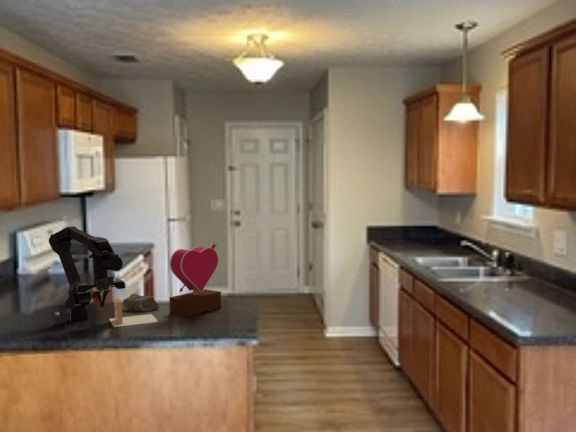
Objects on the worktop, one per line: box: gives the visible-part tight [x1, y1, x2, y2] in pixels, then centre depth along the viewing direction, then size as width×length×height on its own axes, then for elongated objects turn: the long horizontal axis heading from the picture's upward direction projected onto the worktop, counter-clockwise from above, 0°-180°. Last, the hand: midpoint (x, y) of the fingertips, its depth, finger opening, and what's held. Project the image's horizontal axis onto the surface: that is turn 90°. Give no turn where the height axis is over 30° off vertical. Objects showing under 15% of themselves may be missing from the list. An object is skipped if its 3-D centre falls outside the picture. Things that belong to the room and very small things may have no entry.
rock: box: [122, 293, 160, 313], centre depth 274 cm, size 17×7×10 cm
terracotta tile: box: [113, 298, 123, 324], centre depth 251 cm, size 2×8×9 cm, turn 23°
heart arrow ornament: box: [168, 242, 223, 318], centre depth 270 cm, size 25×10×30 cm, turn 141°
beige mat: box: [108, 313, 159, 328], centre depth 254 cm, size 18×15×1 cm
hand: (101, 306), depth 248 cm, fingers closed
